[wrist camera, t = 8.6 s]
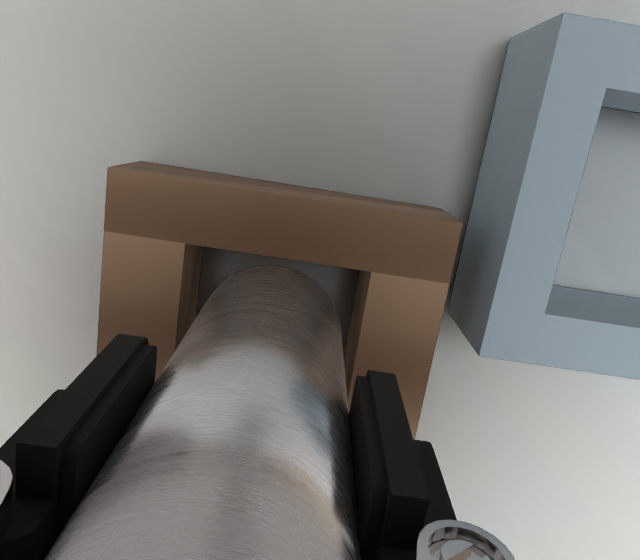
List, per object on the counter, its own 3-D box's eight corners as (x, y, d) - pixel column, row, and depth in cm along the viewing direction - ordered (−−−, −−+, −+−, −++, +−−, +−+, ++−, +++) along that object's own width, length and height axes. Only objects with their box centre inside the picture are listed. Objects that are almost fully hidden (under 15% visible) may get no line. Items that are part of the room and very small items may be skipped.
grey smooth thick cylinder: (206, 255, 15) (-155, 687, 4) (352, 277, 15) (440, 760, 4) (193, 387, 16) (-117, 1035, 5) (329, 407, 16) (343, 1079, 5)
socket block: (141, 161, 18) (-19, 189, 10) (441, 208, 19) (544, 276, 10) (111, 565, 22) (-21, 841, 14) (358, 597, 23) (381, 884, 14)
